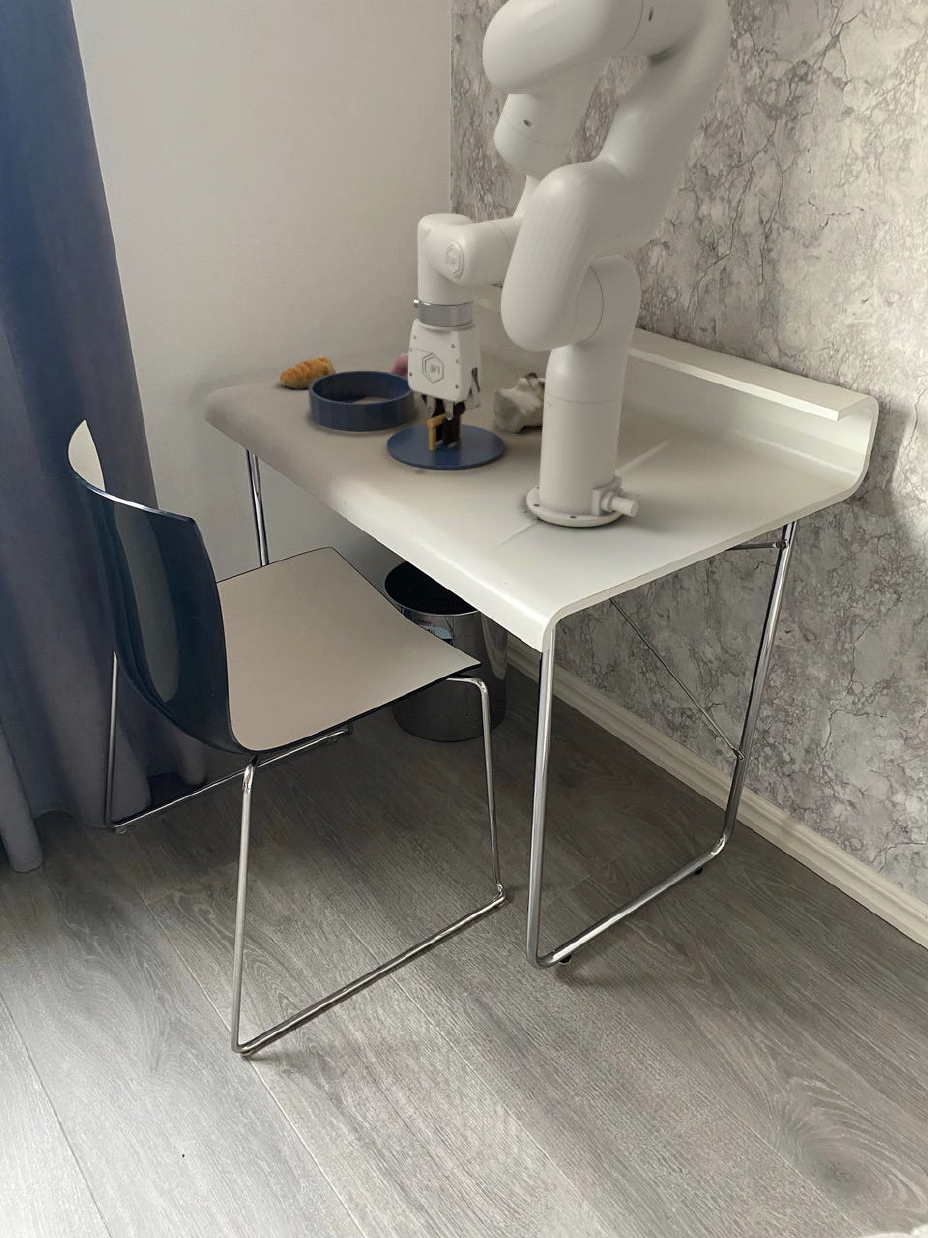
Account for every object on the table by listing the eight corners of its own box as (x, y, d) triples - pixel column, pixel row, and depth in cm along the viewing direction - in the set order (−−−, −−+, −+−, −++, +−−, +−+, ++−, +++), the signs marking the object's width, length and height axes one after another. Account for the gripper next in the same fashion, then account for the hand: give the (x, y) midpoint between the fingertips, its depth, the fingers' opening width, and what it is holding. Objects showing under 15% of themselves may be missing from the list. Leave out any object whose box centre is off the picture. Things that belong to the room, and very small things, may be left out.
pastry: (292, 393, 166) (290, 371, 164) (272, 383, 171) (270, 361, 169) (340, 382, 171) (339, 360, 169) (319, 373, 176) (318, 351, 174)
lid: (526, 447, 147) (528, 410, 144) (455, 484, 135) (455, 444, 132) (436, 421, 156) (436, 386, 153) (362, 453, 144) (361, 416, 141)
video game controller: (443, 401, 168) (453, 360, 167) (429, 396, 164) (440, 354, 163) (395, 391, 172) (405, 350, 171) (380, 385, 168) (390, 344, 167)
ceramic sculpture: (475, 368, 150) (552, 358, 158) (471, 423, 154) (546, 411, 162) (518, 388, 143) (596, 376, 151) (512, 445, 147) (589, 431, 155)
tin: (435, 413, 159) (435, 384, 156) (366, 443, 148) (365, 411, 145) (360, 392, 167) (358, 364, 164) (289, 418, 156) (287, 388, 153)
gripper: (384, 308, 137) (388, 435, 146) (474, 328, 129) (472, 461, 138) (419, 298, 142) (420, 421, 151) (508, 316, 134) (504, 446, 143)
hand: (445, 440), depth 145 cm, fingers closed on lid, 1 cm apart
